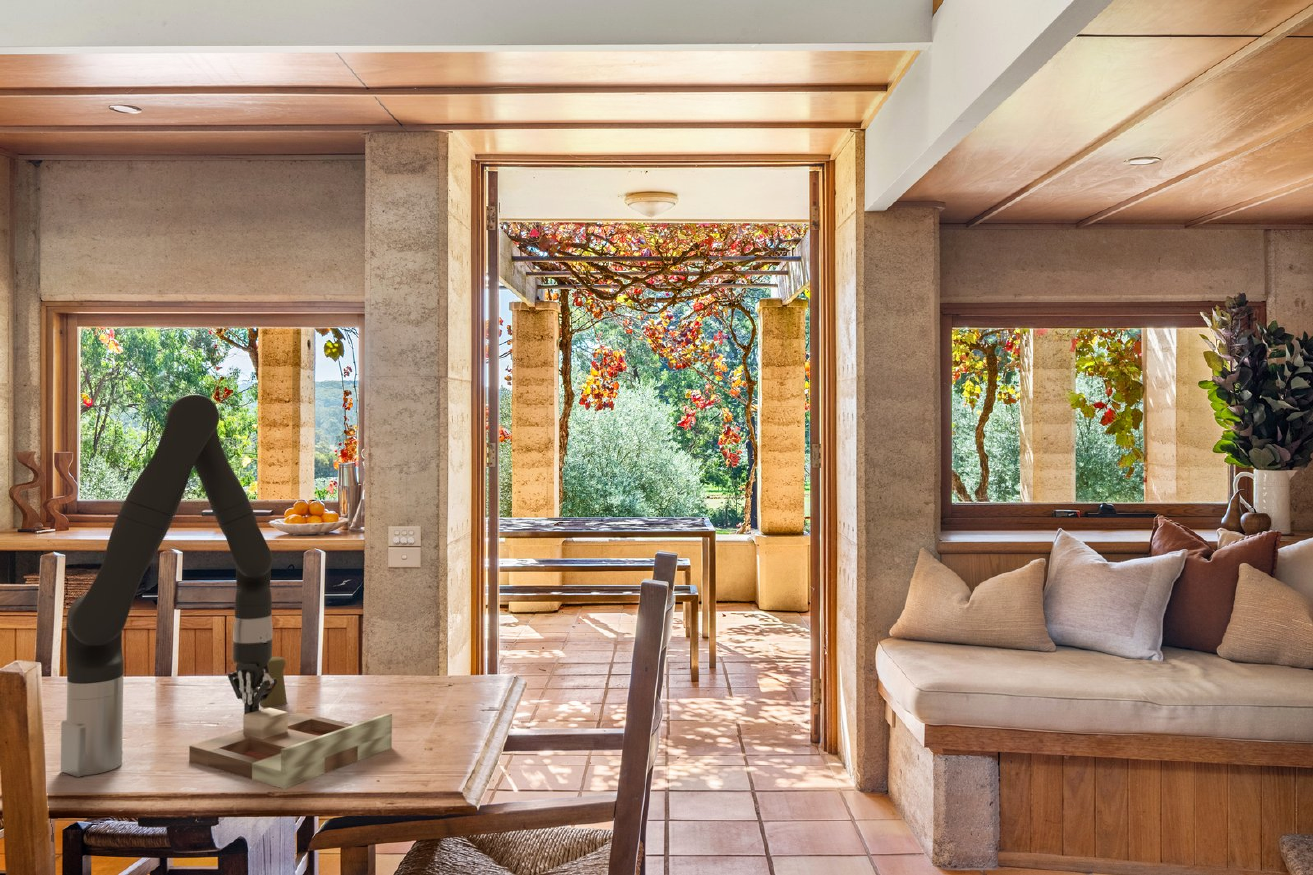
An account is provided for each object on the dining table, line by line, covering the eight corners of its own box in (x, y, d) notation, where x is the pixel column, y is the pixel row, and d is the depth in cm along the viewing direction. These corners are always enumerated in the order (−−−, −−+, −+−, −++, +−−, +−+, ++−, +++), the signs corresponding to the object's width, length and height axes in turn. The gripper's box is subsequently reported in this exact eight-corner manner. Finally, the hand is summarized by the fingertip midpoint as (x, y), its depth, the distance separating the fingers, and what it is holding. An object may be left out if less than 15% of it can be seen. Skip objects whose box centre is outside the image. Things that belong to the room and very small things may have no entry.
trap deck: (284, 788, 164) (284, 750, 164) (189, 761, 178) (189, 725, 178) (391, 747, 187) (392, 713, 187) (299, 725, 201) (300, 694, 201)
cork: (276, 707, 214) (277, 661, 214) (254, 706, 216) (254, 659, 216) (292, 700, 220) (292, 655, 220) (269, 699, 221) (270, 653, 222)
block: (261, 739, 182) (261, 719, 182) (243, 734, 185) (243, 714, 185) (287, 731, 187) (287, 712, 187) (269, 726, 190) (269, 707, 190)
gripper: (216, 637, 189) (214, 720, 189) (258, 644, 183) (256, 731, 183) (247, 631, 196) (246, 711, 196) (289, 638, 189) (288, 721, 189)
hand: (251, 720), depth 189 cm, fingers closed
